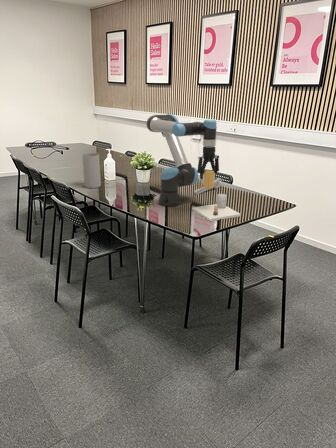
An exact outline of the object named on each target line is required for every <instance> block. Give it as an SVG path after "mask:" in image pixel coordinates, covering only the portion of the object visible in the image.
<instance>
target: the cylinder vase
mask: <svg viewBox="0 0 336 448" xmlns="http://www.w3.org/2000/svg"><path fill="white" fill-rule="evenodd" d="M81 158H82V169H83V179H84V187H85V188H87V189H98V188H100V187H101V186H102V180H101V179H102V178H101V166H100V165H101V164H100V163H101V162H100V153H96V152H94V153H93V152H86V153H82V155H81Z"/></svg>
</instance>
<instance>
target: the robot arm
mask: <svg viewBox="0 0 336 448" xmlns="http://www.w3.org/2000/svg"><path fill="white" fill-rule="evenodd" d="M146 120H147V121H146V123H145V124H146V129H147V130H148V131H149V132H152V133H161V135H162V137H164V138H165V140H166V143H167V146H168V148H169V152H170V154H171V156H172V159H173V161H174V165H175V167H166V168H164V169H163V170H161V172H160V184H161V185H160V194H159V197H158V205H161V206H162V207H163V206H164V207H177V206H179V205H181V201H182V200H181V197H180V193H179V188H182V187H187V186H191V185H195V184H196V183H197V182H198V180H199V179H200V184H201V185H202V184H203V185H204V174H203V173H204V170H206V167H207V164H208V163H210V166H211V170H213V171H214V183H215V180H216V179H217V173H218V172H219V171H220V168H219V167H220V163H219V158H220V155H218V154H216V145H217V144H216V143H217V142H216V141H217V120H216V119H204V120H203V121H202V122H200V121H194V122H179V119H178V118H177V117H176V115H175V114H169V113H167V114H153V115H151V116H149V117H148V118H147V119H146ZM188 136H189V137H190V136H203V137H202V139H203V140H202V145H203V147H202V156H198V157H197V158H198V163H197V164H198V165H197V168H196V167H194V166H192V164H191V162H188V158H187V156H186V153H185V150H184V148H183V146H182V144H181V140H180V138H179V137H188Z"/></svg>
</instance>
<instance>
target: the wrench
mask: <svg viewBox="0 0 336 448" xmlns="http://www.w3.org/2000/svg"><path fill="white" fill-rule="evenodd" d="M221 181H223V178H222V177H216V178H215V183H214V187H212V188H204V187H201V188H198V189H195V190H194V192H193V193H194V195H199V194H201V193H203V192H206V191H209V190H211V189H213V188H214V189H215V190H218V188H220V187H221V186H222V185H221V184H220V182H221Z"/></svg>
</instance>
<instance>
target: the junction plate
mask: <svg viewBox="0 0 336 448" xmlns="http://www.w3.org/2000/svg"><path fill="white" fill-rule="evenodd" d="M227 196H228V195H227V194H224V193H218V194H217V195H216V203H215V204H209V205H208V204H207V205H200V206H193V207H192V208H191V210H192V211H194V212H195V213H197V214H198V215H199V216H201V217H202V216H203V217H202V218H204V219H205V218H206V219H205V220H207V221H208V220H209V222H214V221H213V220H215V221H220V219H221V220H226V219H232V218H239V217H241V216H242V214H241V213H240V212H238V211H236V210H234V209H233V208H231V207H229V206H227Z"/></svg>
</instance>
